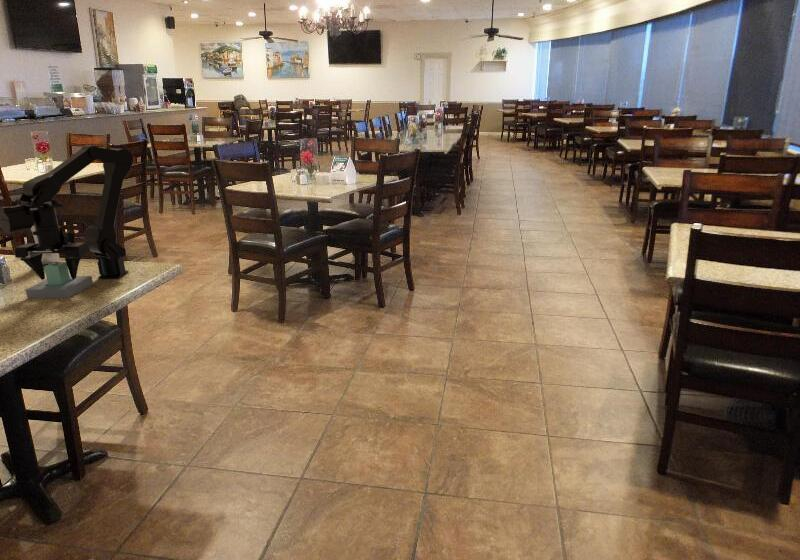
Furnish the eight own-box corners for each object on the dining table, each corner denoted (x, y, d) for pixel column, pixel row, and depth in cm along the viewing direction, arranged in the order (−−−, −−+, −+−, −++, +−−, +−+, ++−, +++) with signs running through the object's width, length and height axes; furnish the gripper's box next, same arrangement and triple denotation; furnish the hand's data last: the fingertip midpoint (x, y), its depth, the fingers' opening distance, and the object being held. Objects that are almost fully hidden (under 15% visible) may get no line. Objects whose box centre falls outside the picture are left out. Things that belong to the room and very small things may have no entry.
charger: (72, 288, 168) (65, 260, 165) (63, 293, 164) (57, 264, 161) (58, 288, 168) (52, 260, 165) (50, 293, 164) (43, 264, 162)
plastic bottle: (65, 261, 197) (52, 202, 191) (51, 266, 190) (38, 206, 184) (47, 261, 197) (34, 203, 191) (33, 266, 191) (19, 207, 185)
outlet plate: (93, 283, 171) (91, 275, 170) (68, 297, 160) (66, 289, 159) (54, 284, 172) (52, 276, 171) (27, 298, 161) (25, 289, 160)
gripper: (95, 218, 167) (105, 270, 172) (33, 220, 168) (45, 271, 173) (72, 227, 157) (84, 282, 161) (6, 228, 158) (20, 283, 163)
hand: (58, 279), depth 165 cm, fingers open, 9 cm apart
